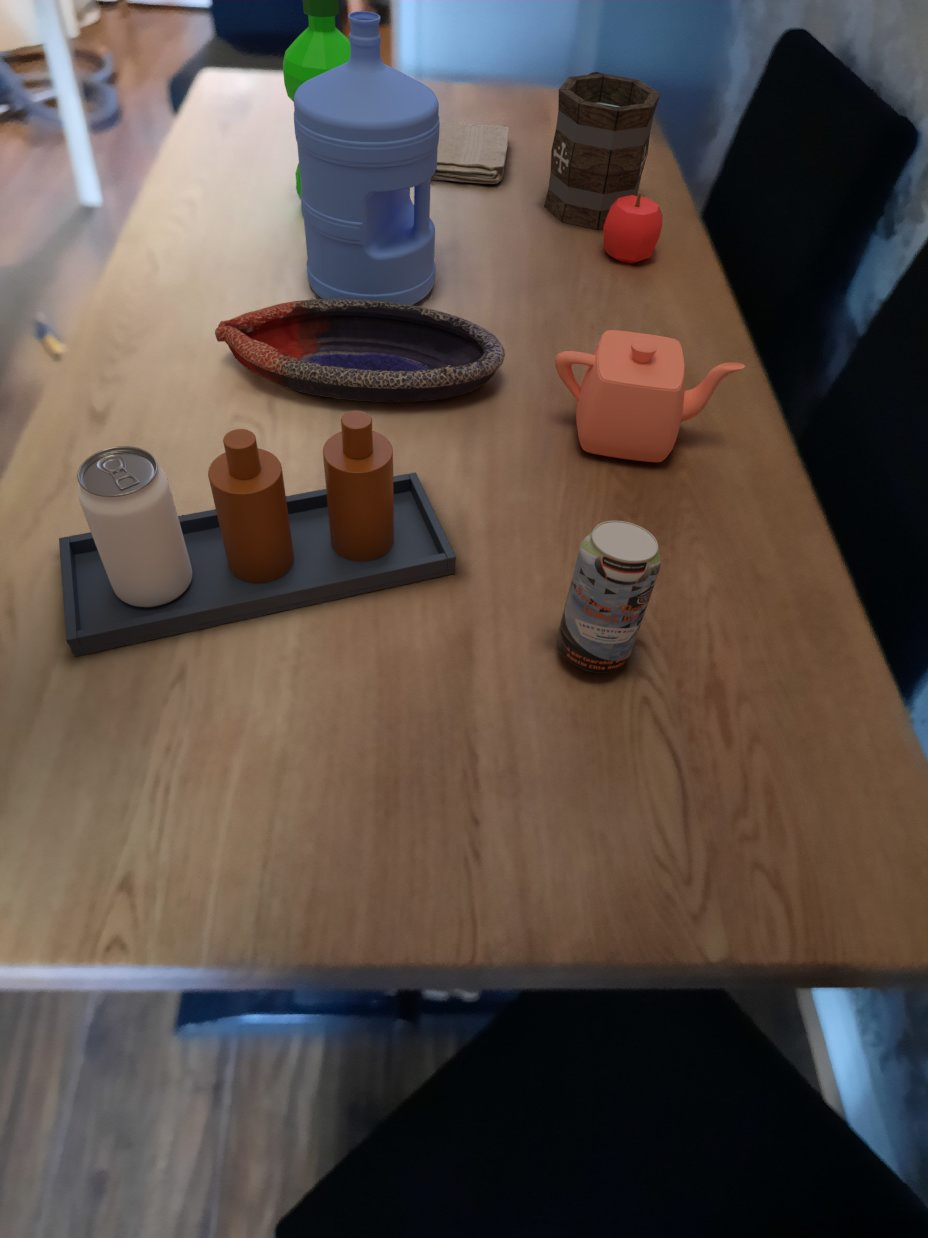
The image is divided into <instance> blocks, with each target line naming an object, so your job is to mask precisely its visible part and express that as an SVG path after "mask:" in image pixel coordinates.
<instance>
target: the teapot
mask: <svg viewBox="0 0 928 1238" xmlns="http://www.w3.org/2000/svg"><path fill="white" fill-rule="evenodd" d="M554 365H555V370H556V373H557V374H558V376H559V378H560V380H561V382H562V384H564V386H565V387H566V389H567V390H568V391H569V392H570V393H571V395H572V396H573V397H574V398H575V400H576V407H575V421H576V422H575V423H576V429H577V436H578V437H577V438H578V441H579V445H580V447H581V449H582V450H583V451H585V452H586V453H589V454H593V455H597V456H598V455H599V456H605V457H610V458H616V459H623V460H631V461H637V462H638V461H639V462H648V463H661V462H663V461H664V460H666V458H667V457H668V456H669V455H670V453H671V452H672V450H673V449H674V447H675V444H676V442H677V439H678V435H679V431H680V427H681V423H684V422H687V421H690V420H691V419H693V418H694V417H696V416H698V415H699V414H700V413H701V412H703V410H704V408H706V406H707V404H708V403H709V401H710V400H711V397H712V396H713V395H714V392H715V390H716V389H717V387H718V385H719V384H720V383H721V382H722V381H723V380H724V378H727V376H729V375H730V374H733V373H736V372H737V371H741V370H743V369H745V368H746V365H745V364H743V363H740V362H724V363H720V364H717V365H716V366H714V367H713V368H712V369H711V370H709V371H708V373H707V374H706V375H705V376H704V378H703V379H702V380H701V382H700V383H698V385H697V386H695V387H693V388H692V389H691V388H690V389H687V390H686V389H685V388H686V387H685V384H686V380H685V379H686V374H685V373H686V372H685V370H686V369H685V358H684V352H683V349H682V345H681V343H680V342H679V340H677V339H676V338H673V337H668V336H663V335H657V334H656V335H655V334H649V333H642V332H634V331H627V330H618V329H608V330H605V331H604V332H603V334H602V335H601V337H600V338H599V340H598V343H597V345H596V347H595V350H594V351H593V353H588V352H584V351H583V352H582V351H577V350H576V351H575V350H564V351H561V352H559V353H558V354H556V357H555V359H554ZM572 365H583V366H587V368H586V370H585V372H584V376H583V379H582V382H581V385H579V383H578V381H577V380H576V377H575V375H574V372H573V368H572Z"/></svg>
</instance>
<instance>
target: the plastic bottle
mask: <svg viewBox="0 0 928 1238" xmlns="http://www.w3.org/2000/svg"><path fill="white" fill-rule="evenodd" d="M302 8H303V14H305V15H307V16H308V17H307V18H308V26H307V27H306V28H305V29H304V30H303V31H302V32H301V33H300V34H299V35H298V36H297V37H296V38H295V39H294V41H293V42H292V43H291V44H290V45H289V46H288V47H287V48H286V49H285V51H284V56H283V60H282V69H283V71H282V73H283V81H284V82H283V83H284V84H283V85H284V87H285V92H286V95H287V97H288V98H289V99H290V100H291V101H292V102H293V103H294V95H295V92H296V90H297V89H298V88H299V87H300V86H301V85H302V84H303V83H304V82H306V81H307V80H309V79H311V78H314V77H316V76H318V75H320V74H322V73H325V72H327V71H329V70H331V69H333V68H335V67H338V66H340V65H342V64H344V63H346V62H348V61H349V59H350V54H351V51H350V42H349V37H347V36H346V35H345V34H344V33H343V32H341V30H339V29H338V28H337V27H336V16H337V15H339V14H340V3H339V0H302ZM295 185H296V193H297V195H298V197H299V200H300V201H301V181H300V169H299V162H298V164H297V167H296V169H295Z"/></svg>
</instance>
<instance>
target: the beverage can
mask: <svg viewBox="0 0 928 1238" xmlns="http://www.w3.org/2000/svg"><path fill="white" fill-rule="evenodd" d="M578 549H579V550H578V553H577V557H576V561H575V565H574V569H573V573H572V577H571V581H570V584H569V589H568V592H567V596H566V600H565V604H564V607H563V608H564V609H563V611H562V616H561V619H560V622H559V627H558V631H557V634H556V646H557V649H558V651H559V653H560V654H561V656H562V657H563V658H564V659H565V660H566V661H567V662H568V663H570V664H571V665H573V666H575V667H576V668H577V669H580V670H583V671H586V672H590V673H597V674H606V673H607V674H608V673H611V672H612V673H613V672H616V671H617V670H620V669H622V668H623V667H624V666H625V665H626V664H627V663H628V662H629V659H630V657H631V655H632V651H633V648H634V645H635V643H636V640H637V637H638V635H639V631H640V628H641V625H642V622H643V620H644V617H645V614H646V610H647V608H648V605H649V603H650V599H651V596H652V593H653V590H654V587H655V584H656V582H657V578H658V577H659V573H660V569H661V566H662V562H661V555H660V553H659V543H658V540H657V538H656V537H655V536H654V535H653V534H652V533H651V532H650V531H649V530H647V529H646V528H644V527H643V526H640V525H638V524H635V523H632V522H629V521H625V520H606V521H603V522H600V523H599V524H597V525H596V526H595V527H594V528H593V529H592V531H591V532H590V533H589V534H588V535H586V536H585V537H584V538H583V540H582V541H581V544H580V546H579V548H578Z"/></svg>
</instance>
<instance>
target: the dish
mask: <svg viewBox="0 0 928 1238" xmlns="http://www.w3.org/2000/svg"><path fill="white" fill-rule="evenodd" d="M214 335H215V339H216V341H217V342H218V343H222V342H224V343H225V344H227V346H228V348H229V351H230V352H231V354H232V356H233V358H234V359H235V360H236V362H238V363H240V364H241V365H242V366H243V367H244V368H246V369H247V370H248V371H250V372H253V373H255V374H257V375H259V376H261V377H262V378H264V379H267V380H268V381H270V382H272V383H274V384H276V385H279V386H281V387H283V388H285V389H288V390H291V391H295V392H299V393H303V394H307V395H314V396H319V397H325V398H333V399H339V400H340V399H341V400H347V401H348V400H349V401H360V402H373V403H374V402H375V403H376V402H377V403H381V402H383V403H411V402H426V401H427V402H429V401H436V400H437V401H439V400H443V399H449V398H454V397H457V396H463V395H465V394H468V393H470V392H473V391H475V390H477V389H478V388H480V387H482V386H483V385H485V384H486V383H488V382H489V381H490V380H491V379H492V378H493V377H494V376H495V374H496V373H497V371H498V369H500V368H501V366H502V365H503V364H504V360H505V358H506V357H505V356H506V352H505V351H506V350H505V348H504V346H503V343H501V341H500V340H499V339H498V338H497V337H496V336H495V335H494V333H492V332H490V331H489V330H487V329H486V328H484V327H482V326H480V325H478V324H476V323H474V322H472V321H470V320H467V319H464V318H462V317H459V316H456V315H454V314H450V313H447V312H443V311H438V310H435V309H430V308H427V307H421V306H416V305H405V304H399V303H391V302H383V301H371V300H356V299H322V298H316V299H315V298H314V299H313V298H311V299H302V300H293V301H287V302H283V303H278V304H274V305H269V306H267V307H263V308H260V309H256V310H253V311H249V312H245V313H243V314H240V315H238V316H235V317H233V318H231V319H226V320H221V321H220V322H219V324H218V325H217V327H216V328H215V330H214Z"/></svg>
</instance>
